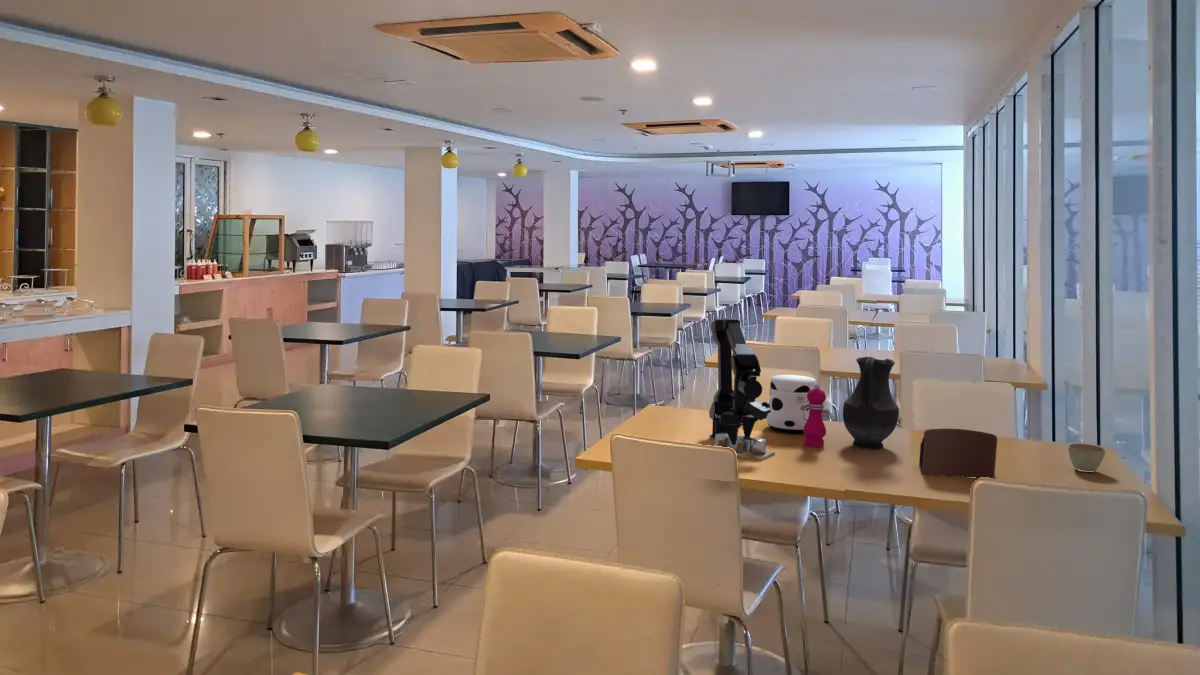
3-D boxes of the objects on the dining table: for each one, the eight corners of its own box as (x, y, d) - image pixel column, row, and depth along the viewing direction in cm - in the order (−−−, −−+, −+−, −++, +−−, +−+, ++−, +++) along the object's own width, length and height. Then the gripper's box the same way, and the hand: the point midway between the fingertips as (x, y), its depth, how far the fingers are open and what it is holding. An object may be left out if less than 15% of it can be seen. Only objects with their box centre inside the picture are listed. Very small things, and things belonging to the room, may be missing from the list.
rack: (706, 450, 292) (706, 438, 292) (719, 444, 300) (720, 433, 299) (761, 460, 282) (762, 447, 281) (774, 454, 289) (775, 442, 288)
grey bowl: (1059, 466, 283) (1061, 443, 282) (1090, 466, 284) (1092, 443, 283) (1078, 475, 273) (1080, 451, 272) (1111, 475, 274) (1113, 451, 273)
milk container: (821, 435, 316) (824, 383, 314) (770, 434, 316) (772, 382, 314) (810, 424, 333) (813, 374, 331) (761, 423, 333) (764, 373, 331)
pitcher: (899, 444, 307) (905, 353, 303) (890, 458, 288) (896, 362, 284) (846, 437, 314) (851, 349, 310) (833, 450, 295) (839, 357, 292)
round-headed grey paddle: (713, 447, 293) (714, 434, 293) (721, 444, 297) (721, 431, 297) (761, 455, 284) (762, 442, 283) (768, 452, 288) (769, 439, 287)
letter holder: (994, 481, 266) (998, 432, 264) (921, 474, 271) (924, 427, 269) (989, 472, 275) (993, 425, 273) (918, 465, 280) (922, 420, 278)
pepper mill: (825, 448, 299) (829, 386, 296) (802, 446, 300) (805, 385, 298) (824, 442, 306) (828, 382, 303) (802, 441, 307) (805, 381, 305)
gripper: (753, 400, 276) (750, 451, 278) (779, 391, 291) (777, 440, 293) (719, 395, 282) (717, 445, 284) (747, 387, 298) (745, 435, 300)
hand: (740, 441), depth 290 cm, fingers open, 9 cm apart
